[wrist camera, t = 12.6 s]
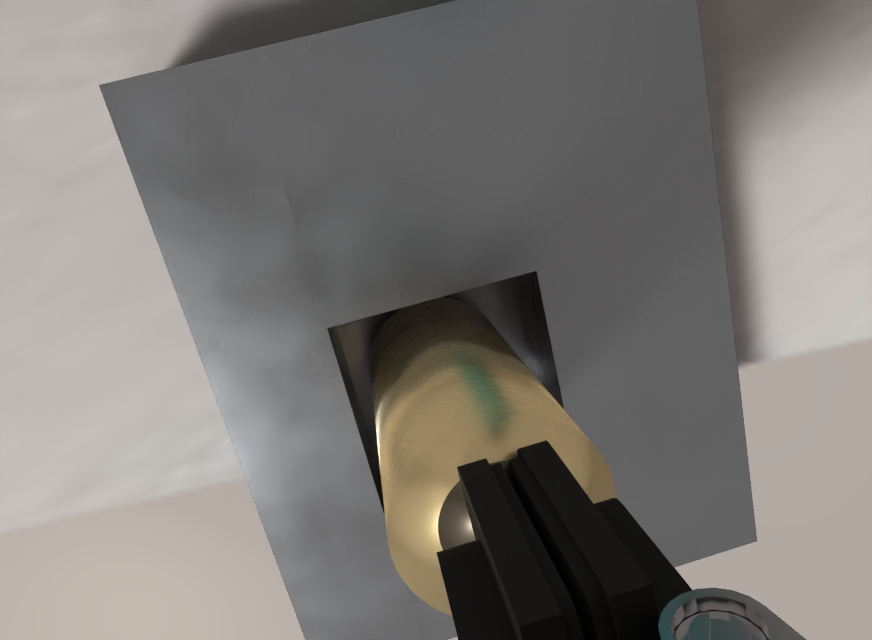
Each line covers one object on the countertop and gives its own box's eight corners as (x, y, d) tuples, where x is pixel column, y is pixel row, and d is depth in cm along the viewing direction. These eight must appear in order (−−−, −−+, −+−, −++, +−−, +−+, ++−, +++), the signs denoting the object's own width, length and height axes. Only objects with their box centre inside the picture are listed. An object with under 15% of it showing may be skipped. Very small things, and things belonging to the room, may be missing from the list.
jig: (322, 600, 22) (320, 679, 19) (144, 97, 17) (99, 85, 14) (697, 485, 23) (756, 540, 20) (626, -19, 18) (690, -56, 15)
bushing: (353, 318, 19) (358, 453, 11) (485, 281, 20) (596, 384, 11) (389, 440, 20) (420, 652, 12) (514, 404, 21) (634, 584, 12)
